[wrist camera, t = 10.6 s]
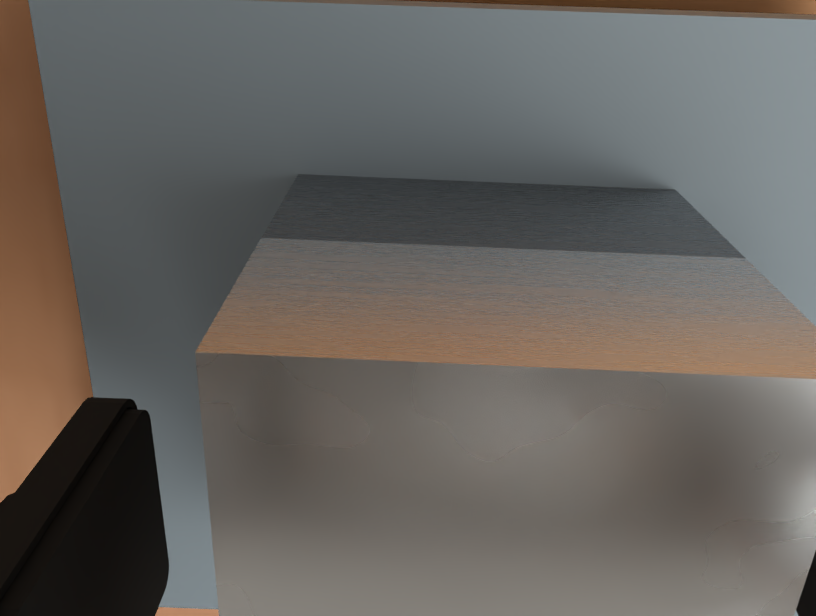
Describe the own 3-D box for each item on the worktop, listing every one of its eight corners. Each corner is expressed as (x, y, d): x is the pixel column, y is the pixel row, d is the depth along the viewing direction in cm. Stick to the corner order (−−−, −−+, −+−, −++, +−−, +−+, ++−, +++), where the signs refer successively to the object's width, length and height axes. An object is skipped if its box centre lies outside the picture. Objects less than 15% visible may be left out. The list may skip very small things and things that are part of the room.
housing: (298, 174, 12) (195, 352, 7) (675, 189, 12) (871, 381, 7) (306, 521, 15) (239, 838, 10) (611, 534, 15) (712, 860, 10)
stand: (182, 486, 20) (127, 605, 16) (124, -18, 15) (26, -8, 11) (726, 507, 20) (793, 632, 16) (854, 6, 15) (993, 26, 11)
